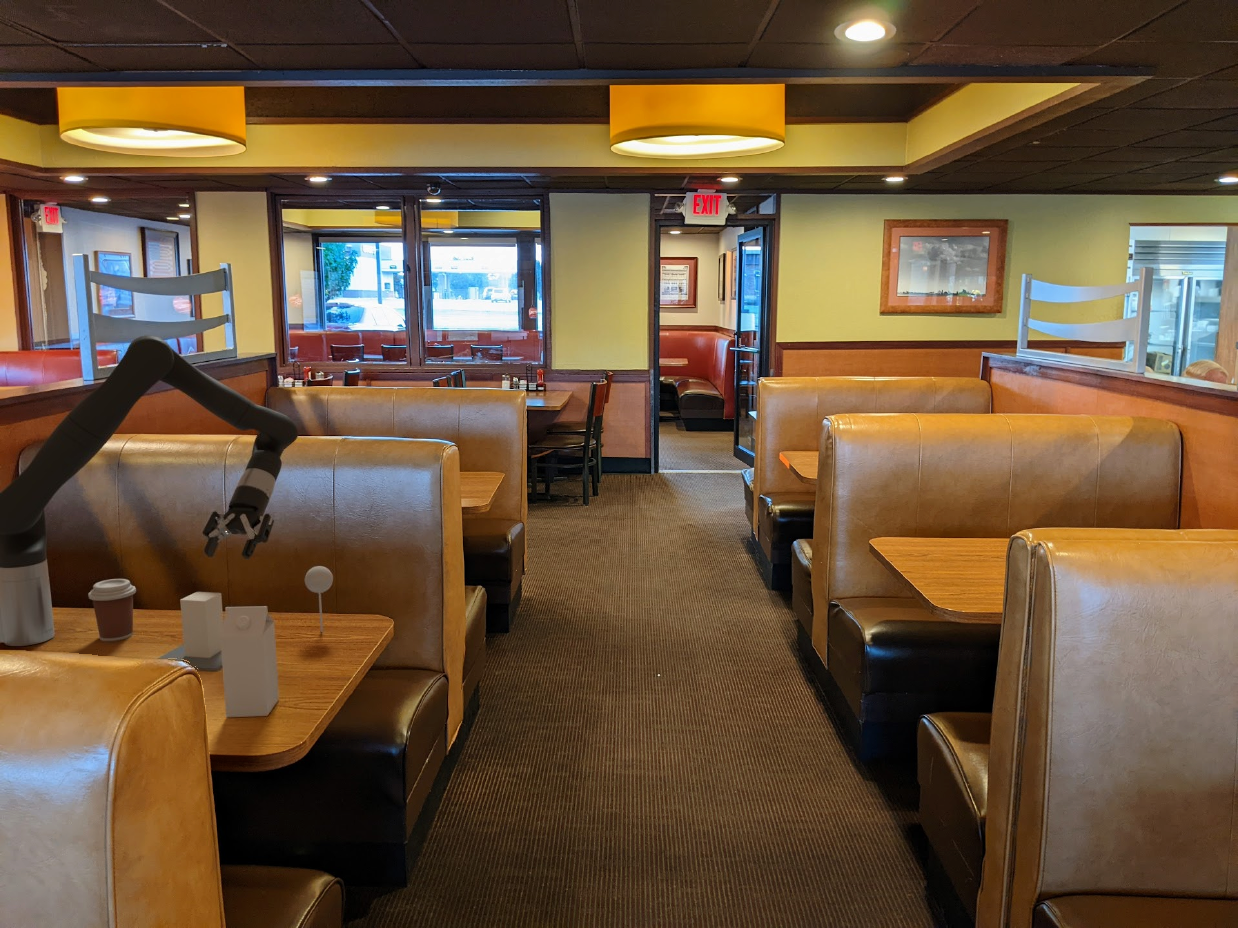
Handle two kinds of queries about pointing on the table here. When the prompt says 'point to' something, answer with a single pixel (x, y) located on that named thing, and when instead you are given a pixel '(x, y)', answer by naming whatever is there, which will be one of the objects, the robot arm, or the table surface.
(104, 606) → the coffee cup
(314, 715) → the table surface
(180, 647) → the mat
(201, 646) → the block
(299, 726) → the table surface
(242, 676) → the milk carton
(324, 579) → the lollipop
